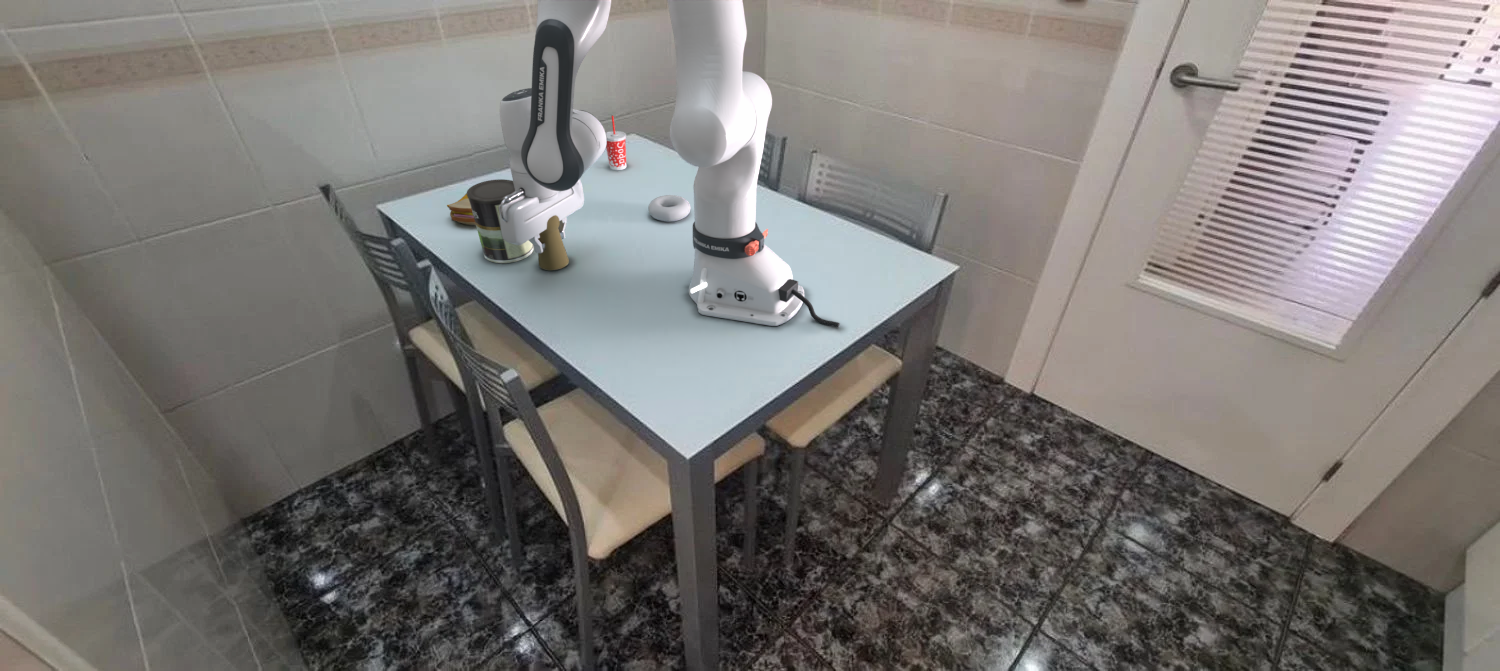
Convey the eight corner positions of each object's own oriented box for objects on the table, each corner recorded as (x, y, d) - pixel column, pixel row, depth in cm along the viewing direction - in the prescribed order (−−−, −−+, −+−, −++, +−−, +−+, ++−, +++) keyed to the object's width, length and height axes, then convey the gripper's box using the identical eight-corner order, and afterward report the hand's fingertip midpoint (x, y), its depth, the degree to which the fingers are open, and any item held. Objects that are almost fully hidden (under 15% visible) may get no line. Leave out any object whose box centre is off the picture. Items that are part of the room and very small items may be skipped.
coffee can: (482, 266, 125) (464, 202, 117) (484, 243, 133) (467, 181, 124) (535, 260, 128) (521, 196, 119) (534, 237, 135) (520, 176, 127)
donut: (654, 227, 141) (696, 220, 144) (653, 213, 139) (695, 206, 142) (644, 209, 148) (684, 203, 151) (643, 196, 146) (683, 189, 149)
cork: (573, 257, 128) (565, 208, 121) (561, 271, 123) (551, 222, 117) (547, 253, 129) (537, 205, 122) (533, 268, 124) (522, 218, 118)
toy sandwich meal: (519, 208, 147) (514, 189, 144) (481, 232, 137) (476, 213, 134) (476, 200, 150) (471, 181, 147) (436, 223, 140) (430, 203, 137)
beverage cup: (611, 172, 166) (604, 120, 157) (603, 165, 170) (597, 113, 162) (632, 169, 168) (627, 117, 160) (624, 161, 172) (619, 110, 164)
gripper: (511, 203, 107) (527, 272, 115) (584, 164, 122) (593, 227, 130) (484, 196, 109) (501, 264, 117) (559, 159, 124) (569, 221, 132)
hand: (550, 244), depth 124 cm, fingers closed on cork, 4 cm apart
